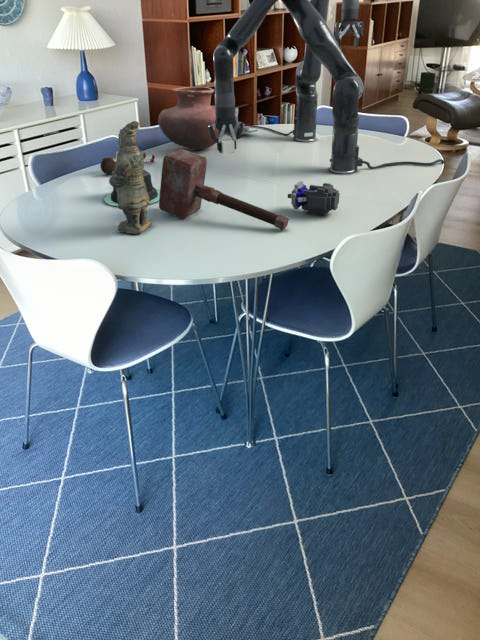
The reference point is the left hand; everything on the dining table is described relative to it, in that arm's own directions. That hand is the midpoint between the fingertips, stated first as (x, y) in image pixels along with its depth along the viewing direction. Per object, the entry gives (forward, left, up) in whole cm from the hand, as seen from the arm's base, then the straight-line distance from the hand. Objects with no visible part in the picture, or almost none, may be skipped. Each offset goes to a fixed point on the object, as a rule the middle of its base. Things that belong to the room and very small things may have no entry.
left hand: (347, 47), depth 260 cm
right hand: (-4, -90, -30) cm, 95 cm away
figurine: (-35, -113, -36) cm, 124 cm away
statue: (+15, -158, -36) cm, 163 cm away
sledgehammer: (+32, -138, -36) cm, 146 cm away
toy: (+51, -118, -36) cm, 133 cm away
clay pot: (-33, -74, -36) cm, 89 cm away
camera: (-33, -41, -36) cm, 64 cm away
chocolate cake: (-7, -137, -36) cm, 142 cm away
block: (-4, -90, -30) cm, 95 cm away
